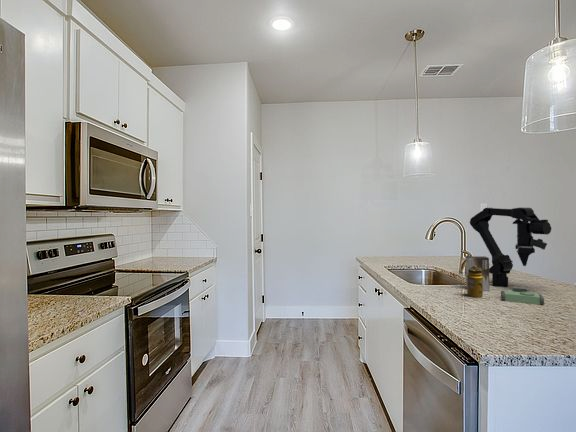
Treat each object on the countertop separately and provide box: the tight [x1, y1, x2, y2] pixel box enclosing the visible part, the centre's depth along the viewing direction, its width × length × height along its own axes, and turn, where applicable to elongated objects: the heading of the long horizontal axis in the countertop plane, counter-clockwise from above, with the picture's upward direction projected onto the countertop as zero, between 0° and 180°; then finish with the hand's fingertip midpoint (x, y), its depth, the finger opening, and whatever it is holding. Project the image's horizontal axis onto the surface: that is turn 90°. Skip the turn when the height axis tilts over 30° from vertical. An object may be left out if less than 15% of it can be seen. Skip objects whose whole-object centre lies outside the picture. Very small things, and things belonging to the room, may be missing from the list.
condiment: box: [459, 269, 487, 299], centre depth 149 cm, size 7×8×12 cm
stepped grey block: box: [511, 285, 528, 292], centre depth 147 cm, size 5×6×4 cm
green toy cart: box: [500, 289, 545, 306], centre depth 142 cm, size 14×12×4 cm
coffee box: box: [465, 255, 491, 292], centre depth 162 cm, size 9×6×16 cm
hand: (524, 265), depth 158 cm, fingers closed
